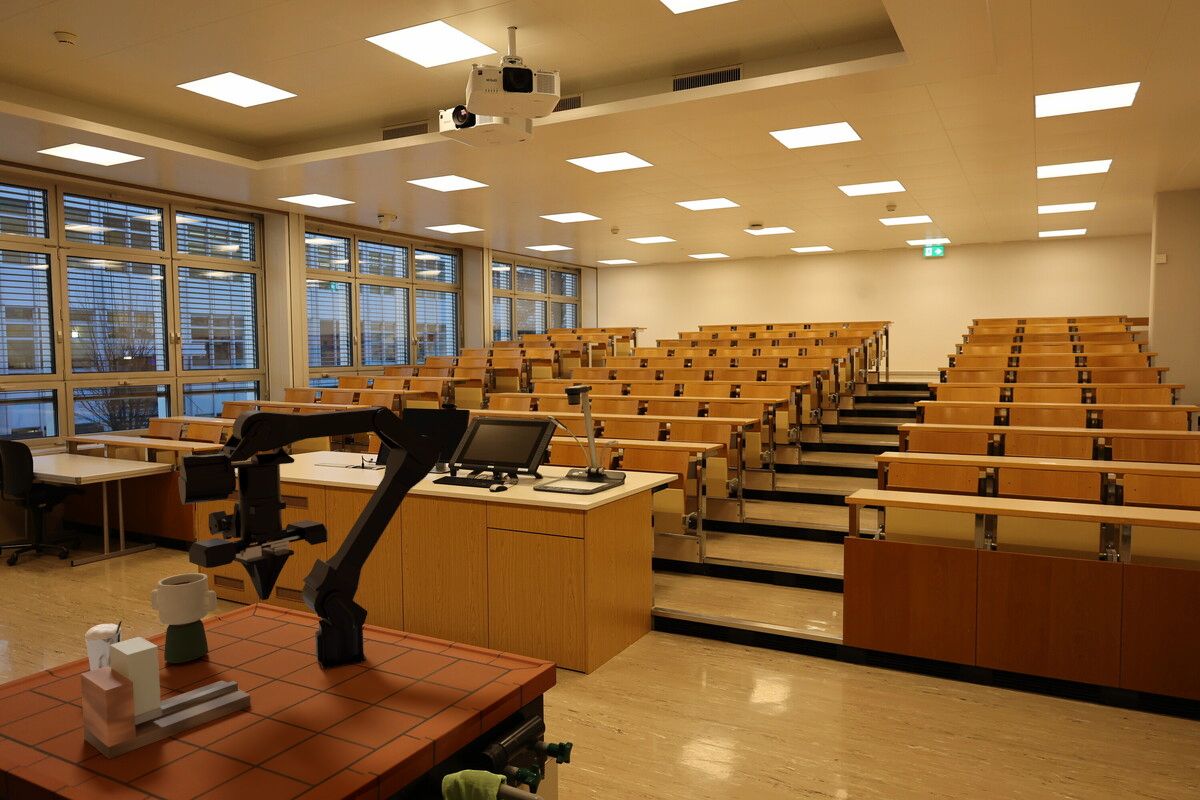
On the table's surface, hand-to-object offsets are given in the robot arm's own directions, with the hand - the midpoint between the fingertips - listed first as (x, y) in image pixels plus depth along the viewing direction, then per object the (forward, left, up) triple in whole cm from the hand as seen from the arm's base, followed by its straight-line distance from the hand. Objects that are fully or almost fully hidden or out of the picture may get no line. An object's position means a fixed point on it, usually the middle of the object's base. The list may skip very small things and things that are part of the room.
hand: (264, 599), depth 115 cm
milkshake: (+21, -8, -12) cm, 26 cm away
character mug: (+11, -14, -12) cm, 22 cm away
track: (+12, +9, -12) cm, 19 cm away
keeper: (+16, +11, -9) cm, 21 cm away
